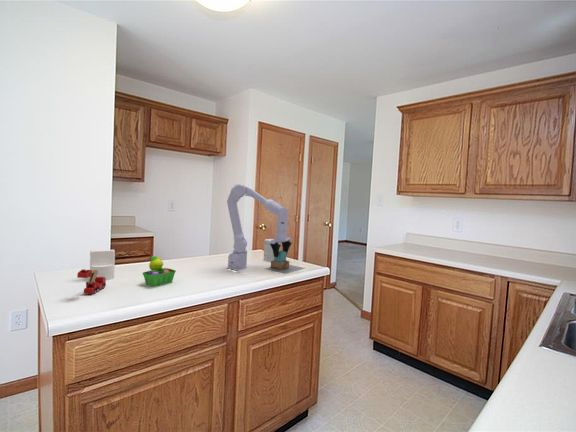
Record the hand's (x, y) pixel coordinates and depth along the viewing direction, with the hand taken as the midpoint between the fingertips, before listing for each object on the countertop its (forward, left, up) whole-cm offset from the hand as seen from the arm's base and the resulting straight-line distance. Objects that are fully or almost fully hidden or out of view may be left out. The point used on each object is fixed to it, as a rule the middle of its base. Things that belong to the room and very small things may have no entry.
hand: (280, 256), depth 161 cm
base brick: (0, 0, -7) cm, 7 cm away
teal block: (0, 0, -3) cm, 3 cm away
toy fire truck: (-80, +25, -8) cm, 84 cm away
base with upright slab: (-70, +42, -8) cm, 82 cm away
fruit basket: (-57, +20, -8) cm, 61 cm away
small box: (+12, +16, -8) cm, 21 cm away
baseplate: (+2, -2, -7) cm, 8 cm away
